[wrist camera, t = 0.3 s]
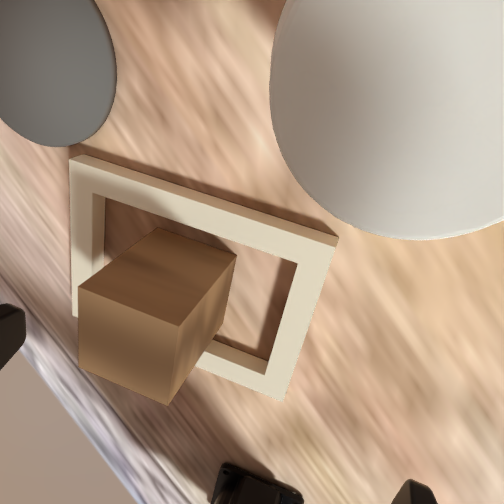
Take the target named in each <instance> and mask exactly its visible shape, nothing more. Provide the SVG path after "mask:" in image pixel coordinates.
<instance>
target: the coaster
mask: <svg viewBox="0 0 504 504" xmlns="http://www.w3.org/2000/svg"><path fill="white" fill-rule="evenodd" d="M116 83H117V66H116V58H115V52H114V47H113V43H112V39H111V36H110V33H109V30H108V27H107V25H106V23H105V20H104V18H103V16H102V14H101V12H100V10H99V8H98V7H97V5H96V3H95V1H94V0H0V118H1V119H2V120H3V121H4V122H5V123H6V124H7V125H8V126H9V127H10V128H11V129H13V130H14V131H15V132H17V133H18V134H20V135H21V136H23V137H24V138H26V139H28V140H30V141H32V142H35V143H37V144H40V145H44V146H50V147H65V146H69V145H73V144H76V143H79V142H82V141H84V140H86V139H88V138H89V137H91V136H92V135H94V134H95V133H96V132H97V131H98V130H99V129H100V128H101V126H102V125H103V124H104V122H105V121H106V119H107V117H108V115H109V113H110V111H111V108H112V105H113V102H114V97H115V93H116Z"/></svg>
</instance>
